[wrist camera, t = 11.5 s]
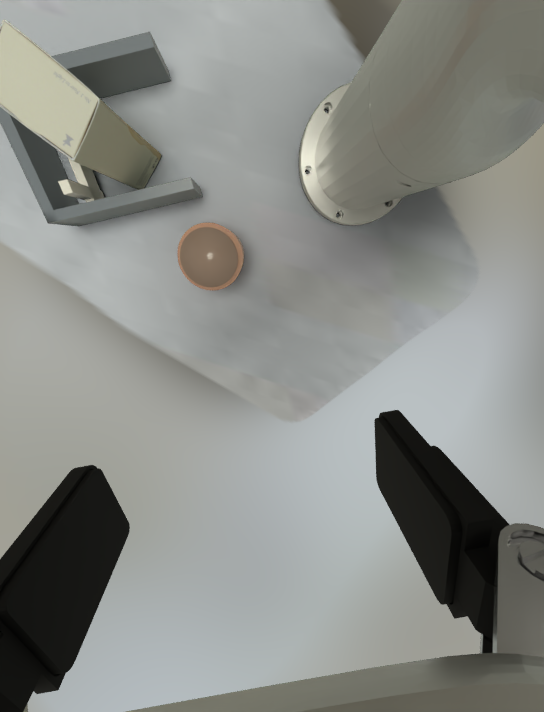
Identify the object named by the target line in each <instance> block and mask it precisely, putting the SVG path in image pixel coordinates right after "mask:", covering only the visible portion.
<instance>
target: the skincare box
mask: <svg viewBox="0 0 544 712" xmlns="http://www.w3.org/2000/svg"><path fill="white" fill-rule="evenodd" d="M0 107H1V108H2V109H4V110H5V111H6V112H8V113H9V114H10V115H11V116H13V117H14V118H15V119H17V120H18V121H19V122H20V123H22V124H23V125H24V126H26V127H27V128H28V129H30V130H31V131H32V132H34V133H35V134H37V135H38V136H39V137H41V138H42V139H43V140H45V141H46V142H47V143H49V144H50V145H51V146H53V147H54V148H56V149H57V150H58V151H60V152H61V153H63V154H64V155H65V156H67V157H68V158H69V159H71V160H72V161H74V162H76V163H79V164H81V165H83V166H85V167H88V168H90V169H92V170H94V171H97V172H99V173H101V174H104V175H106V176H108V177H110V178H113V179H115V180H117V181H119V182H122V183H124V184H126V185H129V186H131V187H133V188H135V189H138V190H140V189H144V187H145V185H146V184H147V182H148V180H149V178H150V177H151V175H152V173H153V171H154V169H155V168H156V166H157V164H158V162H159V160H160V158H161V154H160V153H159V152H158V151H157V150H156V149H155V148H153V147H152V146H151V145H150V144H149V143H148V142H147V141H146V140H144V139H143V138H142V137H141V136H140V135H139V134H138V133H136V132H135V131H134V130H133V129H132V128H131V127H130V126H129V125H128V124H126V123H125V122H124V121H123V120H122V119H121V118H120V117H119V116H118V115H116V114H115V113H114V112H113V111H112V110H111V109H110V108H109V107H108V106H107V105H106V104H105V103H104V102H103V101H102V100H101V99H100V98H99V97H97V96H96V95H95V94H94V93H93V92H92V91H91V90H90V89H89V88H88V87H86V86H85V85H84V84H83V83H82V82H81V81H80V80H79V79H77V78H76V77H75V76H74V75H73V74H72V73H70V72H69V71H68V70H67V69H66V68H64V67H63V66H62V65H61V64H60V63H59V62H57V61H56V60H55V59H54V58H53V57H51V56H50V55H49V54H48V53H47V52H45V51H44V50H43V49H42V48H40V47H39V46H38V45H37V44H36V43H34V42H33V41H32V40H31V39H29V38H28V37H27V36H26V35H24V34H23V33H22V32H21V31H19V30H18V29H17V28H16V27H14V26H13V25H12V24H11V23H9V22H8V21H6V20H3V21H2V23H1V26H0Z"/></svg>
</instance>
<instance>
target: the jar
mask: <svg viewBox="0 0 544 712" xmlns="http://www.w3.org/2000/svg"><path fill="white" fill-rule="evenodd" d="M178 262H179V266H180V268H181V270H182V272H183V274H184V275H185V277H186V278H187V279H188V280H189V281H190V282H191V283H193V284H194V285H195V286H197V287H199V288H202V289H206V290H219V289H223V288H225V287H227V286H229V285H230V284H231V283H233V282H234V280H235V279H236V278H237V276H238V275H239V273H240V270H241V268H242V266H243V262H244V249H243V246H242V244H241V242H240V240H239V238H238V237H237V236H236V235H235V234H234V233H233V232H231V231H230V230H228V229H226V228H224V227H223V226H220V225H218V224H215V223H200V224H197V225H195V226H193V227H191V228H190V229H188V230H187V231H186V232H185V234H184V235H183V236H182V238H181V240H180V243H179V246H178Z"/></svg>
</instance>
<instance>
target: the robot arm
mask: <svg viewBox="0 0 544 712" xmlns="http://www.w3.org/2000/svg"><path fill="white" fill-rule="evenodd" d="M324 109H327V110H328V113H326V112H324ZM543 123H544V0H402V1H401V3H400V5H399V6H398V8H397V9H396V11H395V13H394V14H393V16H392V17H391V19H390V21H389V23H388V24H387V26H386V27H385V29H384V31H383V32H382V34H381V35H380V37H379V39H378V40H377V42H376V44H375V45H374V47H373V48H372V50H371V52H370V53H369V55H368V56H367V58H366V60H365V61H364V63H363V65H362V66H361V68H360V69H359V71H358V73H357V74H356V76H355V77H354V79H353V81H352V82H351V83H348V84H346V85H343V86H341V87H339V88H338V89H336V90H335V91H333V92H331V93H330V94H329V95H328V96H327V97H326V98H325V99H324V100H323V101H322V102H321V103H320V104H319V106H318V107H317V108H316V110H315V111H314V113H313V114H312V116H311V118H310V120H309V122H308V124H307V126H306V128H305V131H304V134H303V136H302V140H301V145H300V150H299V173H300V179H301V183H302V186H303V190H304V192H305V194H306V196H307V198H308V200H309V201H310V203H311V204H312V205H313V207H314V208H315V209H316V210H317V211H318V212H319V213H320V214H321V215H322V216H323V217H325V218H327V219H329V220H330V221H332V222H335V223H338V224H341V225H351V226H353V225H361V224H366V223H370V222H372V221H374V220H377V219H379V218H381V217H382V216H384V215H385V214H387V213H388V212H389V211H391V210H392V209H393V208H394V207H395V206H396V205H397V204H398V203H399V202H400V200H401V199H402V197H404V196H407V195H410V194H414V193H417V192H420V191H424V190H427V189H430V188H433V187H437V186H440V185H443V184H446V183H450V182H452V181H455V180H459V179H462V178H465V177H468V176H471V175H474V174H476V173H479V172H481V171H483V170H486V169H488V168H490V167H491V166H493V165H495V164H497V163H498V162H500V161H502V160H503V159H505V158H506V157H508V156H509V155H510V154H512V153H513V152H514V151H515V150H517V149H518V148H519V147H520V146H521V145H522V144H524V143H525V142H526V141H527V140H528V139H529V138H530V137H531V136H532V135H533V134H534V133H535V132H536V131H537V130H538V129H539V128H540V127H541V126H542V124H543ZM305 170H308V171H309V174H308V175H306V174H305ZM385 202H387V206H385ZM336 213H339V217H338V218H337V217H336ZM375 447H376V477H377V483H378V486H379V488H380V491H381V493H382V495H383V496H384V498H385V500H386V502H387V504H388V506H389V508H390V510H391V511H392V514H393V516H394V517H395V519H396V521H397V523H398V525H399V527H400V529H401V531H402V533H403V535H404V537H405V539H406V541H407V543H408V544H409V546H410V548H411V550H412V552H413V553H414V556H415V558H416V560H417V562H418V564H419V565H420V567H421V569H422V571H423V573H424V575H425V577H426V579H427V581H428V583H429V585H430V586H431V589H432V590H433V592H434V594H435V596H436V598H437V600H438V601H439V602H440V603H441V604H447V606H448V607H449V609H450V611H451V613H452V615H453V617H454V618H460V617H465V616H468V617H469V619H470V621H471V622H472V624H473V626H474V628H475V629H476V630H477V631H478V632H480V633H481V642H480V654H470V655H459V656H447V657H440V658H434V659H427V660H420V661H414V662H407V663H400V664H395V665H387V666H380V667H374V668H368V669H363V670H357V671H352V672H345V673H340V674H334V675H329V676H322V677H317V678H311V679H305V680H300V681H294V682H288V683H282V684H277V685H271V686H265V687H259V688H255V689H249V690H243V691H237V692H232V693H226V694H221V695H215V696H209V697H205V698H198V699H193V700H187V701H182V702H176V703H171V704H165V705H160V706H155V707H149V708H143V709H138V710H132V711H127V712H544V529H543V528H541V527H538V526H534V525H529V524H512V525H509V524H508V523H507V521H506V520H505V519H504V518H503V517H502V516H501V515H500V514H499V513H498V512H497V511H496V509H495V508H494V507H492V505H491V504H490V503H489V502H488V501H487V500H486V499H485V497H484V496H483V495H482V494H481V493H480V492H479V491H478V490H477V489H476V488H475V487H474V485H473V484H472V483H471V482H470V481H469V480H468V479H467V478H466V477H465V476H464V475H463V473H462V472H461V471H460V470H459V469H458V468H457V467H456V466H455V465H454V464H453V463H452V462H451V460H450V459H449V458H448V457H447V456H446V455H445V454H444V453H443V452H442V451H441V450H440V449H439V448H438V447H436V446H430V445H429V444H428V443H427V442H426V441H425V439H424V438H423V437H422V436H421V435H420V434H419V433H418V431H416V429H415V428H414V427H413V426H412V425H411V424H410V422H409V421H408V420H407V419H406V418H405V417H404V416H403V414H402V413H401V412H400V411H399V410H394V411H388V412H383V413H380V415H379V418H376V419H375ZM129 528H130V527H129V522H128V520H127V518H126V516H125V514H124V513H123V511H122V509H121V507H120V505H119V503H118V501H117V499H116V497H115V495H114V493H113V491H112V489H111V487H110V485H109V484H108V482H107V480H106V478H105V476H104V474H103V472H102V470H101V469H97V467H96V466H94V465H89V466H84V467H78V468H74V469H73V470H71V471H70V472H69V474H68V475H67V476H66V477H65V479H64V480H63V481H62V483H61V484H60V485H59V486H58V487H57V489H56V490H55V491H54V492H53V494H52V495H51V496H50V497H49V499H48V500H47V501H46V503H45V504H44V505H43V506H42V508H41V509H40V510H39V511H38V513H37V514H36V515H35V516H34V518H33V519H32V520H31V521H30V523H29V524H28V525H27V526H26V528H25V529H24V530H23V531H22V533H21V534H20V535H19V537H18V538H17V539H16V540H15V541H14V543H13V544H12V545H11V546H10V548H9V549H8V550H7V551H6V553H5V554H4V555H3V557H2V558H1V559H0V712H28V708H27V703H28V701H29V698H30V696H31V694H32V692H33V691H34V692H35V693H37V694H39V693H45V692H51V691H56V690H59V687H60V685H61V683H62V680H63V678H64V676H65V673H66V672H68V671H69V670H70V669H71V667H72V666H73V664H74V662H75V660H76V657H77V655H78V653H79V650H80V648H81V645H82V643H83V641H84V639H85V636H86V634H87V631H88V629H89V627H90V624H91V622H92V619H93V617H94V615H95V613H96V610H97V608H98V605H99V603H100V601H101V598H102V596H103V594H104V591H105V589H106V586H107V584H108V582H109V579H110V577H111V575H112V572H113V570H114V568H115V565H116V563H117V561H118V558H119V556H120V553H121V551H122V549H123V546H124V544H125V541H126V539H127V537H128V534H129Z"/></svg>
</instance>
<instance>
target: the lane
mask: <svg viewBox="0 0 544 712" xmlns="http://www.w3.org/2000/svg"><path fill="white" fill-rule="evenodd" d="M51 57H53V58H54V59H55V60H56V61H57V62H59V63H60V64H61V65H62V66H63V67H64V68H66V69H67V70H68V71H69V72H70V73H72V74H73V75H74V76H75V77H76V78H77V79H79V80H80V81H81V82H82V83H83V84H84V85H85V86H86V87H88V88H89V89H90V90H91V91H92V92H93V93H94V94H95V95H96V96H97V97H99V98H104V97H108V96H112V95H116V94H120V93H124V92H128V91H132V90H136V89H140V88H144V87H148V86H152V85H156V84H160V83H164V82H168V81H171V79H170V75H169V71H168V68H167V66H166V64H165V62H164V60H163V58H162V56H161V54H160V52H159V50H158V48H157V46H156V43H155V41H154V39H153V37H152V35H151V33H150V32H147V33H143V34H139V35H135V36H131V37H127V38H123V39H119V40H115V41H111V42H107V43H103V44H99V45H95V46H91V47H87V48H83V49H79V50H75V51H71V52H67V53H63V54H59V55H55V56H51ZM0 123H1V125H2V127H3V129H4V131H5V134H6V136H7V138H8V140H9V142H10V144H11V146H12V148H13V150H14V153H15V155H16V157H17V159H18V161H19V163H20V165H21V167H22V169H23V172H24V174H25V176H26V178H27V180H28V182H29V184H30V186H31V188H32V191H33V193H34V195H35V197H36V199H37V201H38V203H39V205H40V207H41V210H42V212H43V214H44V216H45V218H46V220H47V222H48V223H50V224H61V225H71V226H82V225H86V224H90V223H94V222H98V221H103V220H107V219H111V218H115V217H119V216H124V215H128V214H132V213H136V212H141V211H145V210H149V209H153V208H157V207H162V206H166V205H170V204H174V203H178V202H183V201H187V200H191V199H195V198H199V197H203V196H202V193H201V189H200V187H199V186H198V185H197V184H196V183H195V181H194V180H193V179H192V178H191V177H190V178H186V179H182V180H178V181H173V182H169V183H165V184H161V185H157V186H152V187H148V188H144V189H140V190H136V191H132V192H127V193H123V194H119V195H115V196H111V197H107V198H102V199H98V200H94V201H90V202H86V203H81V204H79V203H78V201H77V198H75V197H71V196H67V195H64V194H63V192H62V189H61V187H60V185H59V183H58V181H62V180H66V179H68V177H67V175H66V172H65V170H64V168H63V165H62V163H61V161H60V158H59V156H58V154H57V151H56V149H55V148H54V147H53V146H51V145H50V144H49V143H47V142H46V141H45V140H43V139H42V138H41V137H39V136H38V135H37V134H35V133H34V132H32V131H31V130H30V129H28V128H27V127H26V126H24V125H23V124H22V123H20V122H19V121H18V120H17V119H15V118H14V117H13V116H11V115H10V114H9V113H8V112H6V111H5V110H4V109H2V108H1V107H0Z"/></svg>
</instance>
